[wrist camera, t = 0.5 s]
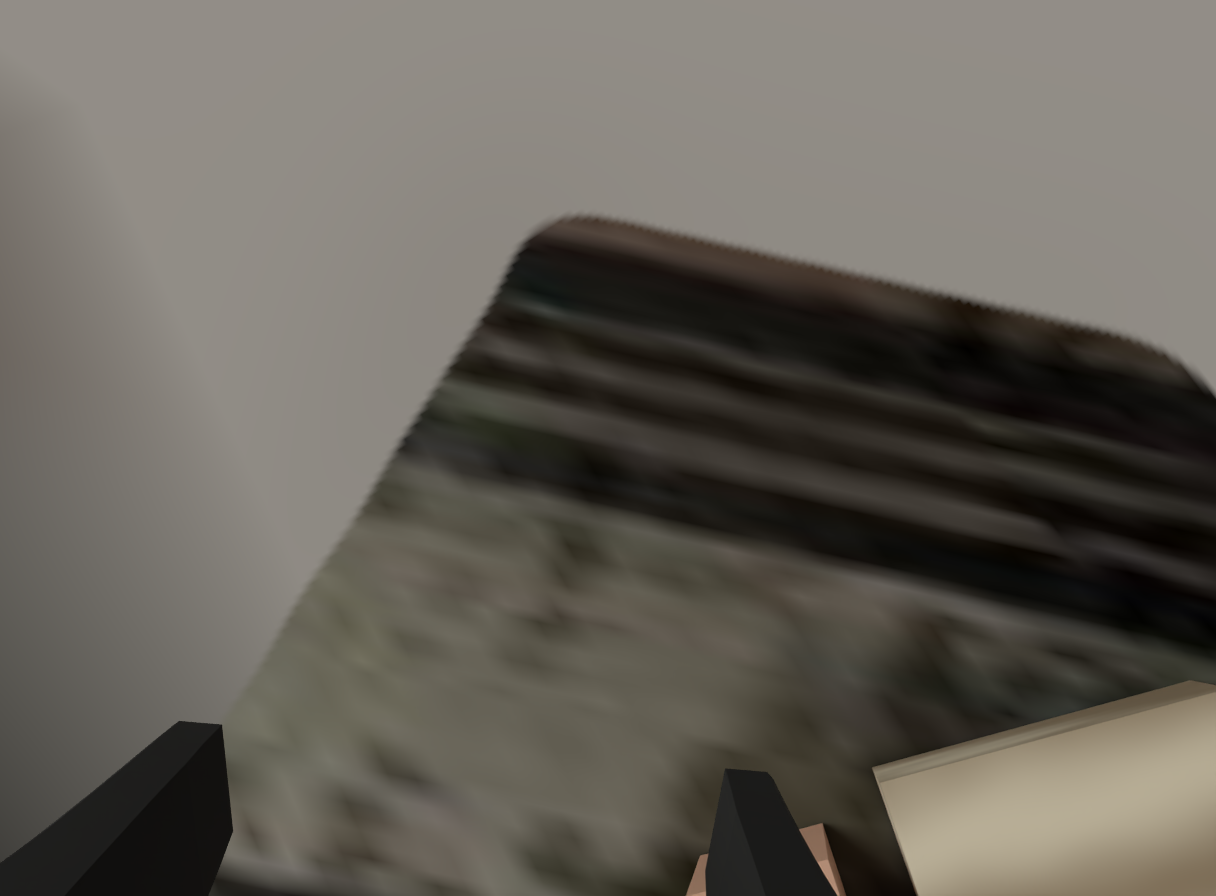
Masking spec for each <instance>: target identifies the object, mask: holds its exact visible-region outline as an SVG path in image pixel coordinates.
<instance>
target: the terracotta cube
mask: <svg viewBox="0 0 1216 896" xmlns="http://www.w3.org/2000/svg"><path fill="white" fill-rule="evenodd" d="M799 830H800V832H801V834H802V836H803V838H804V839H805V841H806V843H807V845H808V847H809V848H810V850H811V852H812V854H813V856H814V857H815V859H816V861H817V863H818V864H819V866H820V868H821V869H822V871H823V873H824V874H825V876H826V878H827V879H828V881H829V883H830V884H831V886H832V887H833V889H834V891H835V892H836V894H837V896H846V893H845V890H844V887H843V884H842V881H841V878H840V875H839V872H838V869H837V866H836V863H835V860H834V857H833V854H832V851H831V848H830V845H829V842H828V839H827V836H826V833H825V830H824V826H823V823H821V824H817V825H813V826H810V827H806V828H802V829H799ZM708 854H709V853H708ZM708 854H705V855H701V856H700V858H699V861H698V863H697V866H696V869H695V872H694V875H693V878H692V881H691V883H690V886H689V889H688V892H687V895H686V896H706V881H705V869H706V864H707V859H708Z"/></svg>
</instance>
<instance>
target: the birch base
mask: <svg viewBox="0 0 1216 896" xmlns="http://www.w3.org/2000/svg"><path fill="white" fill-rule="evenodd" d="M872 769H873V772H874V775H875V778H876V780H877V783H878V786H879V789H880V792H881V795H882V798H883V801H884V804H885V806H886V809H887V812H888V815H889V818H890V821H891V824H892V827H893V830H894V832H895V835H896V838H897V841H898V844H899V847H900V850H901V853H902V856H903V858H904V861H905V864H906V867H907V870H908V873H909V876H910V879H911V882H912V884H913V887H914V890H915V893H916V896H1216V685H1211V684H1206V683H1201V682H1196V681H1191V680H1190V681H1186V682H1183V683H1179V684H1175V685H1172V686H1168V687H1164V688H1161V689H1157V690H1153V691H1150V692H1146V693H1142V694H1139V695H1135V696H1131V697H1128V698H1124V699H1121V700H1117V701H1113V702H1110V703H1106V704H1102V705H1099V706H1095V707H1091V708H1088V709H1084V710H1080V711H1077V712H1073V713H1069V714H1066V715H1062V716H1058V717H1055V718H1051V719H1047V720H1044V721H1040V722H1036V723H1033V724H1029V725H1026V726H1022V727H1018V728H1015V729H1011V730H1007V731H1004V732H1000V733H996V734H993V735H989V736H985V737H982V738H978V739H974V740H971V741H967V742H963V743H960V744H956V745H952V746H949V747H945V748H941V749H938V750H934V751H930V752H927V753H923V754H920V755H916V756H912V757H909V758H905V759H901V760H898V761H894V762H890V763H887V764H883V765H879V766H876V767H872Z"/></svg>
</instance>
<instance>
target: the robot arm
mask: <svg viewBox="0 0 1216 896" xmlns="http://www.w3.org/2000/svg"><path fill="white" fill-rule="evenodd" d="M232 833H233V826H232V816H231V807H230V797H229V787H228V778H227V768H226V759H225V749H224V740H223V730H222V725H219V724H208V723H196V722H185V721H179V722H177V723H176V724H175V725H173V726H172V727H171V728H170V729H168V730H167V731H166V732H165V733H163V734H162V735H161V736H159V737H158V738H157V739H156V740H155V741H153V742H152V743H151V744H150V745H148V746H147V747H146V748H145V749H144V750H143V751H141V752H140V753H139V754H137V755H136V756H135V757H134V758H133V759H132V760H130V761H129V762H128V763H127V764H125V765H124V766H123V767H122V768H121V769H119V770H118V771H117V772H116V773H115V774H113V775H112V776H111V777H110V778H108V779H107V780H106V781H105V782H104V783H102V784H101V785H100V786H99V787H98V788H96V789H95V790H94V791H93V792H92V793H90V794H89V795H88V796H87V797H85V798H84V799H83V800H81V801H80V802H79V803H78V804H76V805H75V806H74V807H73V808H71V809H70V810H69V811H67V812H66V813H65V814H64V815H62V816H61V817H60V818H59V819H58V820H56V821H55V822H54V823H52V824H51V825H50V826H49V827H47V828H46V829H45V830H44V831H42V832H41V833H40V834H38V835H37V836H36V837H35V838H33V839H32V840H31V841H29V842H28V843H27V844H25V845H24V846H23V847H21V848H20V849H19V850H17V851H16V852H15V853H13V854H12V855H10V857H8V858H6V859H5V860H4V861H2V862H1V863H0V896H208V895H209V892H210V890H211V887H212V885H213V882H214V880H215V877H216V875H217V872H218V870H219V867H220V865H221V862H222V859H223V857H224V854H225V851H226V849H227V846H228V843H229V841H230V838H231V835H232ZM705 881H706V896H837V894H836V892H835V891H834V889H833V887H832V886H831V884H830V883H829V881H828V879H827V878H826V876H825V874H824V873H823V871H822V869H821V868H820V866H819V864H818V863H817V861H816V859H815V857H814V856H813V854H812V852H811V850H810V848H809V847H808V845H807V843H806V841H805V839H804V838H803V836H802V834H801V832H800V830H799V829H798V827H797V825H796V823H795V821H794V819H793V817H792V815H791V814H790V812H789V810H788V808H787V806H786V804H785V802H784V800H783V798H782V796H781V794H780V792H779V790H778V788H777V786H776V784H775V782H774V780H773V778H772V777H771V776H770V775H769V774H768V772H759V771H748V770H736V769H725V772H724V777H723V782H722V787H721V792H720V797H719V803H718V808H717V813H716V818H715V823H714V828H713V833H712V838H711V843H710V848H709V854H708V859H707V864H706V869H705Z"/></svg>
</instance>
